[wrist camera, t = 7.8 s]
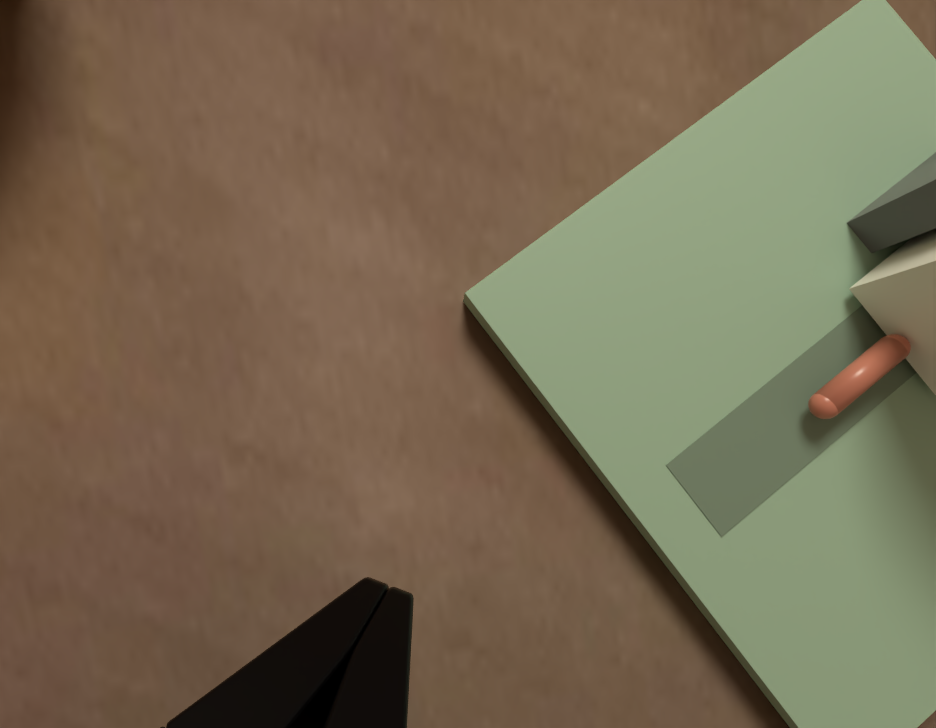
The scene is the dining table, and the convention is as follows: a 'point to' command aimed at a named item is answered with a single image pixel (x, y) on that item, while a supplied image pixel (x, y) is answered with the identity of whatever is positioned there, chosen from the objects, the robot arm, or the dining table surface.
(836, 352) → the board
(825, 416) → the plug
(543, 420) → the dining table surface
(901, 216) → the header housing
